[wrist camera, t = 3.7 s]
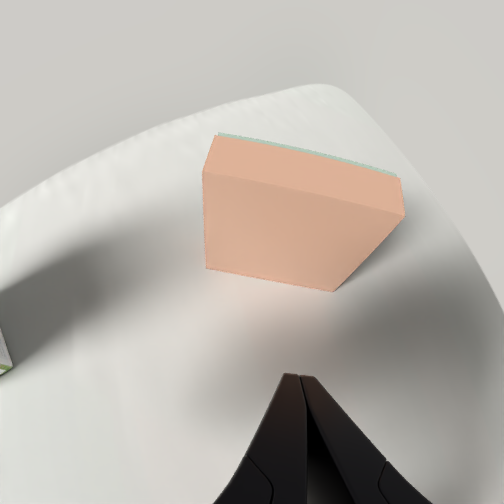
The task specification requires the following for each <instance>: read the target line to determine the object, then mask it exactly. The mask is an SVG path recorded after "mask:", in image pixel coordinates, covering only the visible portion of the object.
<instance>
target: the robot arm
mask: <svg viewBox="0 0 504 504" xmlns="http://www.w3.org/2000/svg"><path fill="white" fill-rule="evenodd" d="M213 504H432V503H431V502H430V501H429V500H428V499H426V498H425V497H424V496H423V495H422V494H421V493H420V492H418V491H417V490H416V489H415V488H414V487H413V486H412V485H411V484H410V483H409V482H408V481H407V480H406V479H405V478H404V477H403V476H402V475H401V474H400V473H399V472H398V471H397V470H396V469H395V468H394V467H393V466H392V465H391V463H390V462H389V461H386V458H385V457H384V456H383V455H382V454H381V452H380V451H379V450H378V449H377V448H376V447H375V446H374V445H373V443H372V442H371V441H370V440H369V439H368V438H367V437H366V436H365V434H364V433H363V432H362V431H361V430H360V429H359V428H358V426H357V425H356V424H355V423H354V422H353V421H352V420H351V418H350V417H349V416H348V415H347V414H346V413H345V412H344V410H343V409H342V408H341V407H340V406H339V405H338V403H337V402H336V401H335V400H334V399H333V398H332V396H331V395H330V394H329V393H328V392H327V391H326V389H325V388H324V387H323V386H322V385H321V384H320V382H319V381H318V380H317V379H316V378H315V377H313V376H307V375H300V376H299V375H297V374H291V373H284V374H283V376H282V378H281V380H280V382H279V385H278V387H277V389H276V391H275V393H274V395H273V398H272V400H271V402H270V404H269V406H268V408H267V410H266V413H265V415H264V417H263V419H262V421H261V423H260V425H259V427H258V429H257V431H256V433H255V435H254V437H253V439H252V441H251V443H250V445H249V447H248V449H247V451H246V453H245V455H244V457H243V459H242V461H241V462H240V464H239V466H238V468H237V470H236V472H235V473H234V475H233V477H232V478H231V480H230V482H229V483H228V485H227V486H226V487H225V489H224V490H223V491H222V493H221V494H220V495H219V497H218V498H217V499H216V500H215V502H214V503H213Z"/></svg>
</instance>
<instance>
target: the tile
mask: <svg viewBox="0 0 504 504" xmlns="http://www.w3.org/2000/svg"><path fill="white" fill-rule="evenodd" d="M202 183H203V214H204V238H205V258H206V268H207V269H212V270H217V271H222V272H227V273H233V274H238V275H243V276H248V277H253V278H259V279H264V280H269V281H275V282H280V283H285V284H291V285H296V286H302V287H307V288H313V289H318V290H324V291H330V292H334V291H335V290H336V289H337V288H338V287H339V286H340V285H341V284H342V283H343V282H344V281H345V280H346V279H347V278H348V277H349V276H350V275H351V274H352V273H353V272H354V271H355V269H356V268H357V267H358V266H359V265H360V264H361V263H362V262H363V261H364V260H365V259H366V258H367V257H368V256H369V255H370V254H371V253H372V252H373V251H374V250H375V249H376V248H377V247H378V246H379V244H380V243H381V242H382V241H383V240H384V239H385V238H386V237H387V236H388V235H389V234H390V233H391V231H392V230H393V229H394V228H395V227H396V226H397V225H398V224H399V223H400V222H401V220H402V219H403V218H404V217H405V210H404V202H403V195H402V188H401V181H400V178H398V177H397V175H396V174H395V173H392V172H388V171H385V170H382V169H378V168H375V167H372V166H368V165H365V164H361V163H357V162H354V161H350V160H346V159H343V158H339V157H335V156H331V155H327V154H323V153H319V152H315V151H310V150H306V149H302V148H297V147H293V146H288V145H283V144H279V143H274V142H269V141H264V140H259V139H253V138H248V137H242V136H237V135H231V134H225V133H219V134H218V136H217V135H215V136H214V139H213V142H212V145H211V147H210V150H209V153H208V156H207V159H206V162H205V165H204V168H203V171H202Z"/></svg>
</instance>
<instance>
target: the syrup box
mask: <svg viewBox="0 0 504 504" xmlns="http://www.w3.org/2000/svg"><path fill="white" fill-rule="evenodd" d="M12 367H13V364H12V361H11V358H10V355H9V352H8V349H7V346H6V343H5V340H4V337H3V334H2V331H1V328H0V375H2V374H3V373H5V372H7V371H8V370H9V369H11V368H12Z"/></svg>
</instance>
